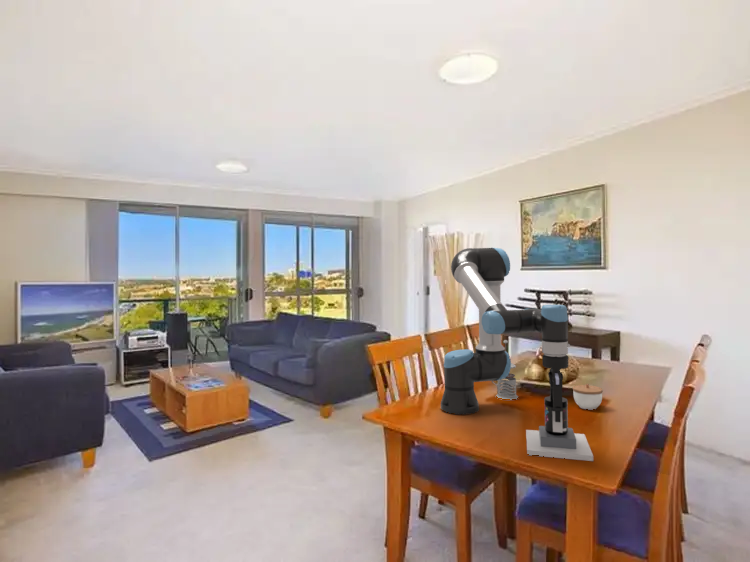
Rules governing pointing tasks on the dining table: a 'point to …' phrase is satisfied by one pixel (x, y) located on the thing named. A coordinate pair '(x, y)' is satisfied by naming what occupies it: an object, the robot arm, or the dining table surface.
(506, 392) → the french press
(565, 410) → the supplement container
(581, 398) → the lidded jar
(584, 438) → the build base
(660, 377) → the dining table surface
